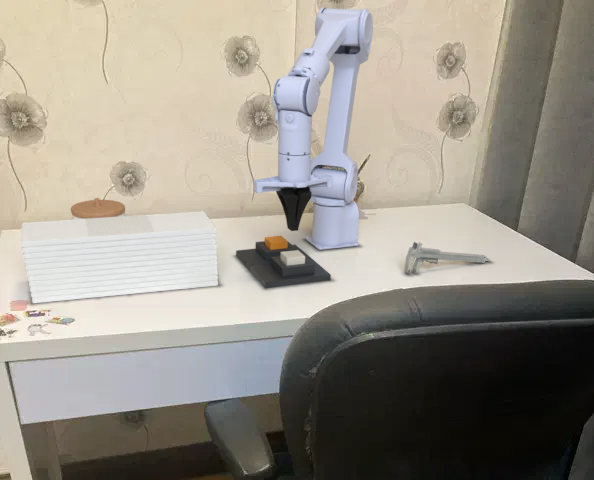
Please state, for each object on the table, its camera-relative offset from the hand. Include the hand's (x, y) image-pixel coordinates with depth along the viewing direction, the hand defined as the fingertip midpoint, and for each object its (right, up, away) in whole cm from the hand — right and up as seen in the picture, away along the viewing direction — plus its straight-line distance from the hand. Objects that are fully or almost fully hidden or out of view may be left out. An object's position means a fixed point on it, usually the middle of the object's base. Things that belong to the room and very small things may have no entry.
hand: (292, 229), depth 122 cm
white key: (0, -6, +3) cm, 6 cm away
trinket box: (-40, +1, +17) cm, 44 cm away
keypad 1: (-4, -3, +11) cm, 13 cm away
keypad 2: (-1, -8, +4) cm, 9 cm away
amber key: (-3, -1, +10) cm, 11 cm away
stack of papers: (-31, -10, -1) cm, 32 cm away
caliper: (+31, -5, +10) cm, 33 cm away
